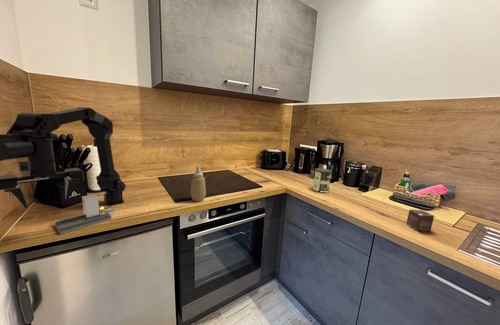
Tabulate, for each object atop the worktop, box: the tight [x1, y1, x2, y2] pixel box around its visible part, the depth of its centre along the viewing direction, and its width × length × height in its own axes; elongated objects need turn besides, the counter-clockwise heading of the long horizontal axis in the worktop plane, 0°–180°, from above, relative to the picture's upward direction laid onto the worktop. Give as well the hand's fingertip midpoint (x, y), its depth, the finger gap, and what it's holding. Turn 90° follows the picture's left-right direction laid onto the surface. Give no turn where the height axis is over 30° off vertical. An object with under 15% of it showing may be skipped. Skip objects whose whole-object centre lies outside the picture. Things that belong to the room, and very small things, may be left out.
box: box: [406, 209, 435, 232], centre depth 85 cm, size 6×6×7 cm
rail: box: [54, 205, 112, 235], centre depth 75 cm, size 15×9×4 cm, turn 143°
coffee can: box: [312, 167, 333, 192], centre depth 130 cm, size 10×10×14 cm
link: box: [81, 193, 116, 220], centre depth 78 cm, size 9×5×8 cm, turn 143°
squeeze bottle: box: [189, 165, 207, 202], centre depth 102 cm, size 8×8×18 cm
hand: (47, 203), depth 63 cm, fingers open, 9 cm apart
